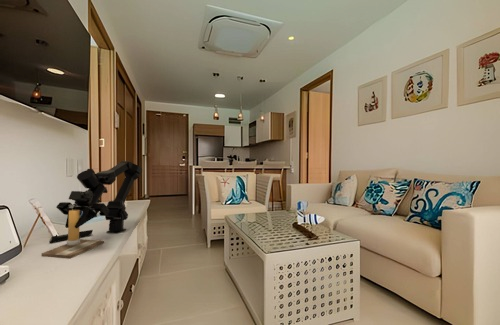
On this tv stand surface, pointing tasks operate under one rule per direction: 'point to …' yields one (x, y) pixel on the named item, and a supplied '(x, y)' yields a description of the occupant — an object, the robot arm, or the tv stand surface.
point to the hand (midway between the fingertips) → (71, 227)
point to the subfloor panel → (72, 249)
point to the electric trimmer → (65, 237)
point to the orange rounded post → (73, 227)
